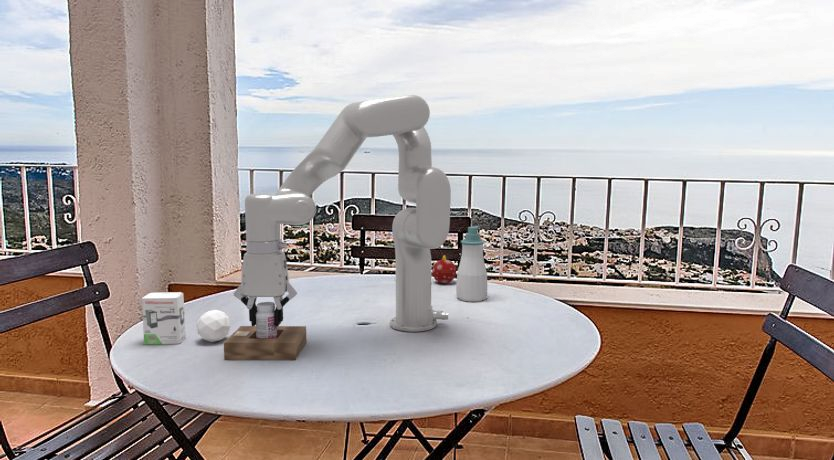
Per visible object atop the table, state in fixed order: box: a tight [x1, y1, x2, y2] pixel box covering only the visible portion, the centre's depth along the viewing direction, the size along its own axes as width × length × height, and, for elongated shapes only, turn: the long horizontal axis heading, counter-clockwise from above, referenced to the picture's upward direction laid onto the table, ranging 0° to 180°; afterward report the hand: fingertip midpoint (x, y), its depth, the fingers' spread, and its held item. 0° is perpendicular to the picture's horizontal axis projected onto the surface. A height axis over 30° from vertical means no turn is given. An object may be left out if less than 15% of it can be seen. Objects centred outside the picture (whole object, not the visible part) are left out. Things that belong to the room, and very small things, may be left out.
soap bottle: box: [455, 225, 488, 303], centre depth 178 cm, size 10×10×23 cm
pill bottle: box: [255, 301, 277, 339], centre depth 131 cm, size 5×5×8 cm
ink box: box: [141, 291, 186, 345], centre depth 138 cm, size 9×5×12 cm, turn 94°
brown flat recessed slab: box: [223, 325, 307, 361], centre depth 132 cm, size 16×12×4 cm
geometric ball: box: [196, 309, 232, 343], centre depth 139 cm, size 8×8×8 cm
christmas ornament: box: [431, 254, 457, 284], centre depth 199 cm, size 9×9×10 cm
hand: (266, 323), depth 131 cm, fingers closed on pill bottle, 4 cm apart
